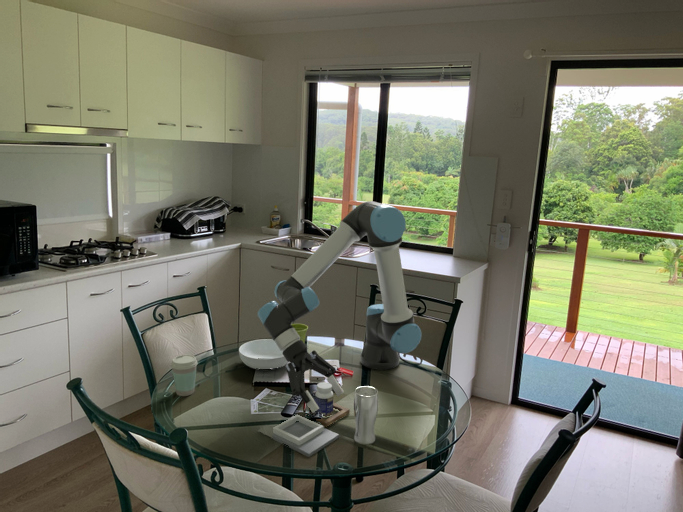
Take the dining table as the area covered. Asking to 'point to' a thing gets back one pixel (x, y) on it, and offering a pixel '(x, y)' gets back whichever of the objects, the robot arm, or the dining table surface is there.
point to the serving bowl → (262, 354)
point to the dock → (303, 435)
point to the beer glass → (365, 414)
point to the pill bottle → (324, 398)
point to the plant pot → (301, 330)
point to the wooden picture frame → (335, 417)
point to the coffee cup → (184, 374)
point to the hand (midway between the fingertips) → (329, 402)
